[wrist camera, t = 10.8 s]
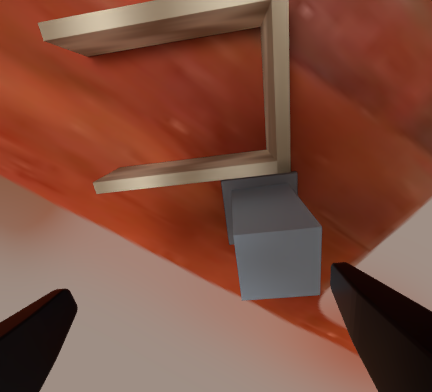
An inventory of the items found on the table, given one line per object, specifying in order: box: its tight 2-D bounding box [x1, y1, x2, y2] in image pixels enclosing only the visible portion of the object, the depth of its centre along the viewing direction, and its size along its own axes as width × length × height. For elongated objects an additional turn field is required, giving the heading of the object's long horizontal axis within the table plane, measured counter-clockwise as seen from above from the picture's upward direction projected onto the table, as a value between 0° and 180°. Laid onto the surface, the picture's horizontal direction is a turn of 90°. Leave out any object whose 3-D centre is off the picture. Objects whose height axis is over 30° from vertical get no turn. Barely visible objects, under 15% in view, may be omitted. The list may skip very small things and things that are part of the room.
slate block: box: [231, 183, 322, 300], centre depth 16 cm, size 4×4×7 cm
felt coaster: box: [221, 171, 298, 245], centre depth 19 cm, size 6×6×1 cm
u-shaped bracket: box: [38, 0, 291, 194], centre depth 15 cm, size 13×10×4 cm
